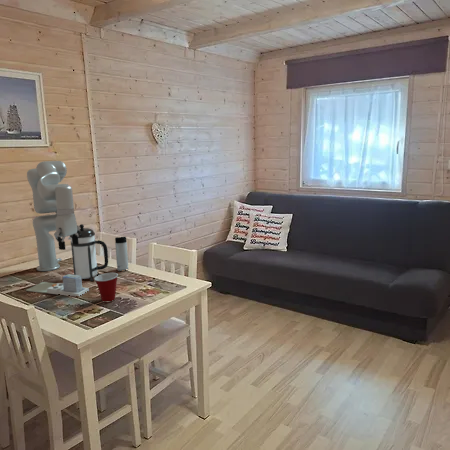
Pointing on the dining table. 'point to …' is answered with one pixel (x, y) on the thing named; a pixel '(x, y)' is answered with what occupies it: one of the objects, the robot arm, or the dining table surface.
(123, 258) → the travel mug
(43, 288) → the sage mat
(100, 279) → the plastic cup
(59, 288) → the power strip dock
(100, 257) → the dining table surface
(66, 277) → the medicine box
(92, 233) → the coffee press
